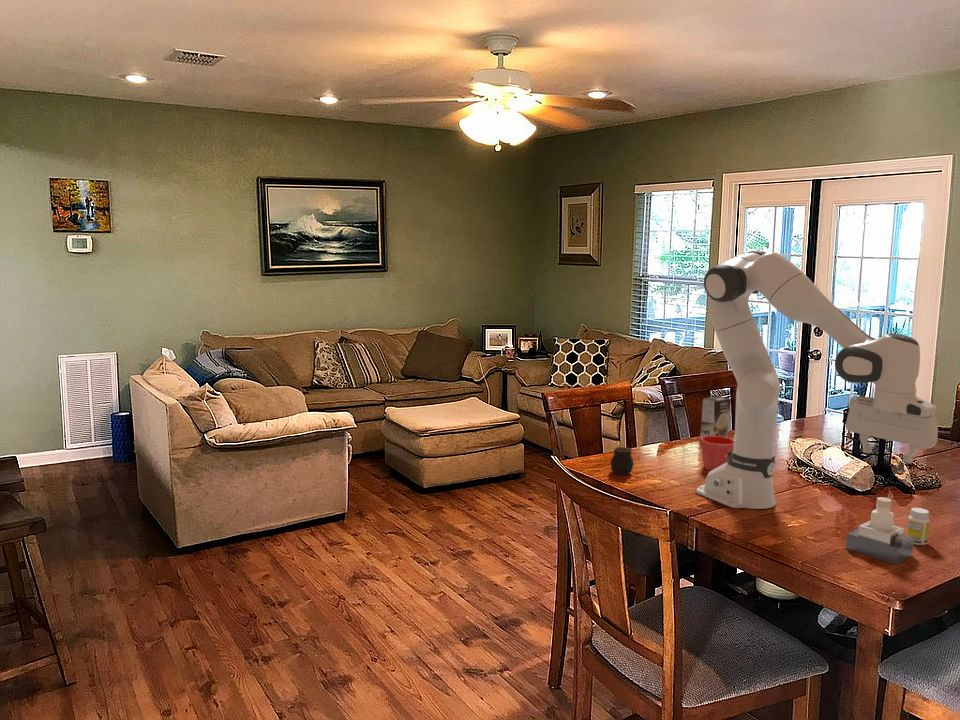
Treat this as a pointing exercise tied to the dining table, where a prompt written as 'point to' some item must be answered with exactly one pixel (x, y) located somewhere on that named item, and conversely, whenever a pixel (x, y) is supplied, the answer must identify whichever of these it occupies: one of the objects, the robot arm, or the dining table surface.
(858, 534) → the block
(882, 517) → the white bottle
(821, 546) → the dining table surface
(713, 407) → the coffee box
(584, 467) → the dining table surface
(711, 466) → the flower pot
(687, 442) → the dining table surface
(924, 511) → the supplement bottle
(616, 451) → the mate gourd
